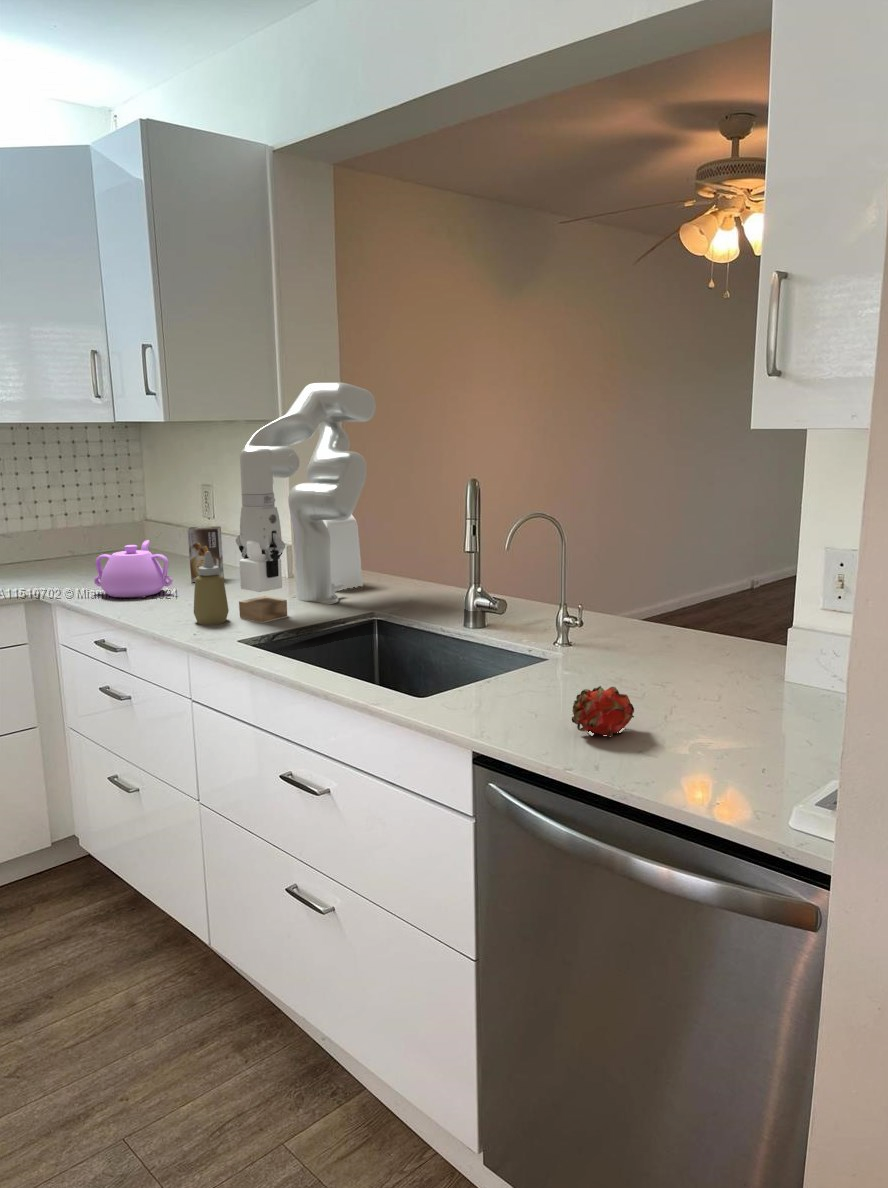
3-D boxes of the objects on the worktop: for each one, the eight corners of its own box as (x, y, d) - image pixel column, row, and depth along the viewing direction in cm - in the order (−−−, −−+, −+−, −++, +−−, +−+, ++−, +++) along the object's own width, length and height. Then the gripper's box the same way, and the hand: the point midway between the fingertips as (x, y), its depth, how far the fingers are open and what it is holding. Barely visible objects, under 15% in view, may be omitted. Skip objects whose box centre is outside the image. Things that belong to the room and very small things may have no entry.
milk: (328, 592, 256) (325, 499, 250) (305, 586, 264) (302, 496, 259) (362, 586, 264) (360, 496, 258) (339, 580, 272) (336, 493, 267)
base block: (265, 611, 226) (264, 595, 225) (287, 616, 221) (286, 599, 220) (239, 617, 219) (238, 601, 218) (262, 622, 215) (261, 605, 214)
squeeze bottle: (194, 631, 211) (189, 555, 208) (194, 624, 219) (189, 550, 215) (230, 629, 213) (226, 553, 210) (228, 621, 221) (224, 548, 217)
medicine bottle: (263, 584, 223) (261, 536, 221) (282, 588, 219) (281, 538, 216) (240, 588, 218) (237, 539, 216) (259, 592, 213) (257, 541, 211)
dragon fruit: (565, 748, 143) (624, 745, 148) (596, 731, 136) (657, 729, 142) (552, 697, 146) (611, 696, 152) (583, 677, 139) (643, 677, 145)
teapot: (187, 585, 267) (184, 538, 264) (163, 600, 246) (160, 550, 243) (113, 585, 267) (109, 538, 265) (82, 600, 246) (78, 550, 243)
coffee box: (225, 578, 277) (222, 525, 274) (221, 582, 271) (218, 528, 267) (194, 579, 276) (191, 526, 273) (190, 583, 270) (186, 529, 267)
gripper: (295, 502, 212) (298, 576, 216) (245, 497, 222) (249, 569, 226) (271, 504, 206) (274, 581, 210) (221, 500, 217) (225, 573, 220)
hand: (261, 574), depth 218 cm, fingers closed on medicine bottle, 7 cm apart
